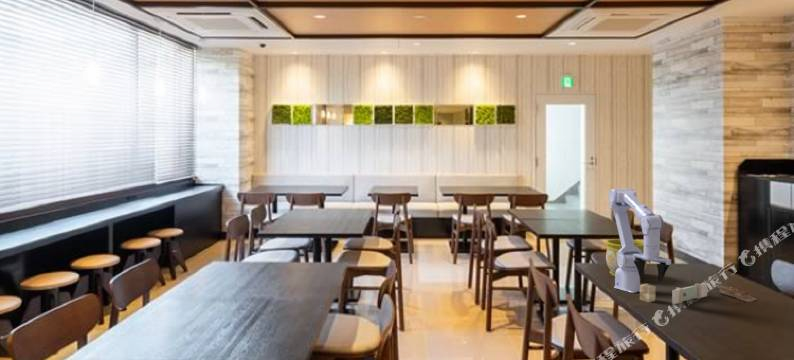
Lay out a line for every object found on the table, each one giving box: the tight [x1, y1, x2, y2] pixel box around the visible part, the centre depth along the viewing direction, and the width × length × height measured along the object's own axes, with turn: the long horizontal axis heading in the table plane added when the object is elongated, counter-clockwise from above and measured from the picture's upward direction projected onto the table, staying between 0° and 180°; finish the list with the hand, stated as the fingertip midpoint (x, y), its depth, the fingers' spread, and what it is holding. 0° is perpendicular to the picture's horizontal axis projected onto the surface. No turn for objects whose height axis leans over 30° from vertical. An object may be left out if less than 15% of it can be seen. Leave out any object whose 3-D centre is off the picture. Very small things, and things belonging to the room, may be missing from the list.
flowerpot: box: [605, 238, 648, 278], centre depth 239 cm, size 18×18×16 cm
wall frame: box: [671, 282, 708, 305], centre depth 202 cm, size 2×21×6 cm, turn 118°
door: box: [681, 285, 698, 302], centre depth 202 cm, size 2×10×5 cm, turn 118°
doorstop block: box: [639, 283, 656, 303], centre depth 202 cm, size 4×4×6 cm
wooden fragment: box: [714, 284, 758, 303], centre depth 211 cm, size 26×11×1 cm, turn 169°
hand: (651, 279), depth 201 cm, fingers open, 7 cm apart
